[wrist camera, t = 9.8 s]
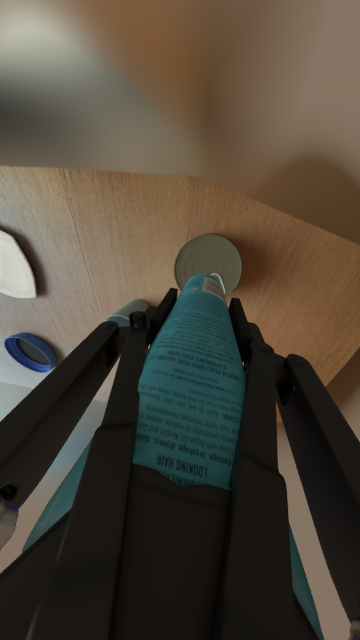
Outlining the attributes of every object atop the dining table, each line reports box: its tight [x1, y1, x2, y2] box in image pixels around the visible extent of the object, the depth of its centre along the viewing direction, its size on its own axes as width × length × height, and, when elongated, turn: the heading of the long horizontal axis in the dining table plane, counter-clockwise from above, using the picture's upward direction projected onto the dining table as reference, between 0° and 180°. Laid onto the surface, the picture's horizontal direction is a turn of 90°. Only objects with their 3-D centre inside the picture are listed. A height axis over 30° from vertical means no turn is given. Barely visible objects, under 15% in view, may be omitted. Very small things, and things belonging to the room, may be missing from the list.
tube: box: [22, 274, 324, 640], centre depth 12 cm, size 7×5×19 cm, turn 86°
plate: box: [0, 230, 37, 298], centre depth 42 cm, size 19×19×2 cm
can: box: [174, 234, 242, 297], centre depth 31 cm, size 12×12×7 cm
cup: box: [105, 300, 149, 326], centre depth 39 cm, size 8×8×10 cm
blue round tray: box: [4, 333, 56, 373], centre depth 60 cm, size 18×18×4 cm
